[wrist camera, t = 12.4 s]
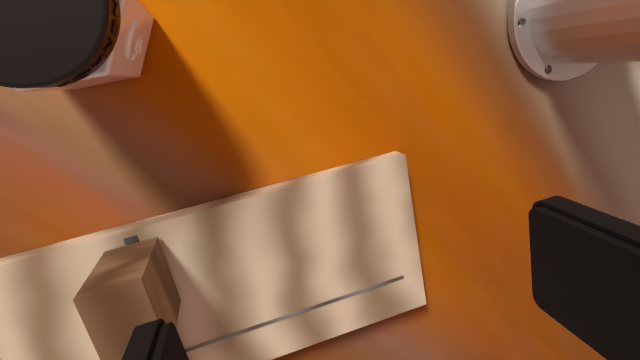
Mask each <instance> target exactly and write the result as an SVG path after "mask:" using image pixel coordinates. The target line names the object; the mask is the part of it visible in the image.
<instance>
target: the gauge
mask: <svg viewBox="0 0 640 360" xmlns="http://www.w3.org/2000/svg"><path fill="white" fill-rule="evenodd" d="M73 302H74V304H75V306H76V309H77V311H78V313H79V315H80V317H81V319H82V321H83V324H84V326H85V328H86V330H87V332H88V334H89V337H90V339H91V341H92V343H93V345H94V347H95V349H96V352H97V354H98V356H99V358H100V360H122V357H123V355H124V352H125V350H126V347H127V345H128V342H129V340H130V337H131V335H132V332H133V330H134V328H135V327H136V326H138V325H141V324H144V323H148V322H151V321H154V320H157V319H160V318H161V319H163V320H164V321H165V322H166V323H169V322H173V323H174V325H175V327H177V321H178V315H179V309H180V303H181V299H180V296H179V293H178V291H177V288H176V285H175V282H174V280H173V277H172V274H171V272H170V269H169V266H168V263H167V261H166V258H165V255H164V252H163V250H162V247H161V244H160V241H159V239H158V237H154V238H151V239H147V240H144V241H140V242H137V243H133V244H130V245H126V246H122V247H119V248H115V249H112V250H108V251H105V252H104V253H103V255H102V256H101V258H100V259H99V261H98V262H97V264H96V265H95V267H94V268H93V270H92V271H91V273H90V274H89V276H88V277H87V279H86V280H85V282H84V283H83V285H82V287H81V288H80V290H79V291H78V293H77V294H76V296H75V297H74V299H73Z"/></svg>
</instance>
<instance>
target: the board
mask: <svg viewBox="0 0 640 360" xmlns="http://www.w3.org/2000/svg"><path fill="white" fill-rule="evenodd" d="M154 237H158V239H159V241H160V244H161V247H162V250H163V252H164V255H165V258H166V261H167V263H168V266H169V269H170V272H171V274H172V277H173V280H174V282H175V285H176V288H177V291H178V293H179V296H180V299H181V303H180V309H179V315H178V321H177V327H176V329H177V331H178V334H179V336H180V339H181V341H182V344H183V346H184V349H185V351H186V354H187V356H188V359H189V360H272V359H275V358H277V357H280V356H283V355H286V354H289V353H291V352H294V351H297V350H300V349H303V348H305V347H308V346H311V345H314V344H316V343H319V342H322V341H325V340H328V339H330V338H333V337H336V336H339V335H342V334H344V333H347V332H350V331H353V330H356V329H358V328H361V327H364V326H367V325H369V324H372V323H375V322H378V321H381V320H383V319H386V318H389V317H392V316H395V315H397V314H400V313H403V312H406V311H409V310H411V309H414V308H417V307H420V306H423V305H425V304H426V298H425V291H424V283H423V276H422V269H421V262H420V255H419V248H418V241H417V234H416V226H415V219H414V212H413V205H412V198H411V191H410V184H409V176H408V169H407V162H406V155H404V154H402V153H399V152H397V151H394V152H391V153H387V154H383V155H379V156H376V157H372V158H368V159H365V160H361V161H357V162H354V163H350V164H346V165H343V166H339V167H335V168H332V169H328V170H324V171H320V172H317V173H313V174H309V175H306V176H302V177H298V178H295V179H291V180H287V181H284V182H280V183H276V184H273V185H269V186H265V187H261V188H258V189H254V190H250V191H247V192H243V193H239V194H236V195H232V196H228V197H225V198H221V199H217V200H214V201H210V202H206V203H202V204H199V205H195V206H191V207H188V208H184V209H180V210H177V211H173V212H169V213H166V214H162V215H158V216H155V217H151V218H147V219H143V220H140V221H136V222H132V223H129V224H125V225H121V226H118V227H114V228H110V229H107V230H103V231H99V232H96V233H92V234H88V235H84V236H81V237H77V238H73V239H70V240H66V241H62V242H59V243H55V244H51V245H48V246H44V247H40V248H37V249H33V250H29V251H25V252H22V253H18V254H14V255H11V256H7V257H3V258H0V358H1V360H100V358H99V356H98V354H97V352H96V349H95V347H94V345H93V343H92V341H91V339H90V337H89V334H88V332H87V330H86V328H85V326H84V324H83V321H82V319H81V317H80V315H79V313H78V311H77V309H76V306H75V304H74V302H73V299H74V297H75V296H76V294H77V293H78V291H79V290H80V288H81V287H82V285H83V283H84V282H85V280H86V279H87V277H88V276H89V274H90V273H91V271H92V270H93V268H94V267H95V265H96V264H97V262H98V261H99V259H100V258H101V256H102V255H103V253H104V252H105V251H108V250H112V249H115V248H119V247H122V246H126V245H130V244H133V243H137V242H140V241H144V240H147V239H151V238H154Z"/></svg>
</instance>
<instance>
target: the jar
mask: <svg viewBox="0 0 640 360" xmlns="http://www.w3.org/2000/svg"><path fill="white" fill-rule="evenodd" d="M153 20H154V17H153V15H152V14H151V13H150V12H149V11H148V10H147V9H146V8H145V7H144V5H143V4H142V3H141V2H140V1H139V0H0V86H4V87H10V88H12V89H14V90H15V91H17V92H30V91H47V90H65V89H80V88H85V87H90V86H96V85H101V84H106V83H111V82H116V81H121V80H126V79H131V78H136V77H139V76H140V75H141V71H142V67H143V63H144V58H145V54H146V50H147V46H148V41H149V37H150V33H151V29H152V25H153Z"/></svg>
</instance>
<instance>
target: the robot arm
mask: <svg viewBox="0 0 640 360" xmlns="http://www.w3.org/2000/svg"><path fill="white" fill-rule="evenodd" d="M508 33H509V39H510V43H511V46H512V49H513V52H514V54H515V56H516V57H517V59H518V61H519V62H520V64H521V65H522V66H523V67H524V68H525V69H526V70H527V71H528V72H529V73H531V74H532V75H534V76H535V77H538V78H540V79H543V80H549V81H567V80H571V79H575V78H577V77H579V76H581V75H583V74H585V73H587V72H588V71H590V70H591V69H592V68H594V67H595V66H596V65H597V64H598V63H608V62H629V61H640V0H510V2H509V9H508ZM529 233H530V252H531V271H532V290H533V297H534V300H535V302H536V304H537V305H538V306H539V307H540V308H541V309H542V310H543V311H545V312H546V313H547V314H548V315H550V316H551V317H552V318H554V319H555V320H556V321H558V322H559V323H560V324H561V325H563V326H564V327H565V328H567V329H568V330H569V331H571V332H572V333H573V334H574V335H576V336H577V337H578V338H580V339H581V340H582V341H584V342H585V343H586V344H587V345H589V346H590V347H591V348H593V349H594V350H595V351H597V352H598V353H599V354H600V355H602V356H603V357H604V358H606V359H607V360H640V226H638V225H635V224H633V223H630V222H627V221H625V220H622V219H619V218H617V217H614V216H611V215H609V214H606V213H603V212H601V211H598V210H596V209H593V208H590V207H588V206H585V205H582V204H580V203H577V202H574V201H572V200H569V199H566V198H564V197H561V196H553V197H550V198H547V199H543V200H540V201H537V202H535V203H534V204H533V206H532V209H531V210H530V211H529ZM122 360H189V359H188V356H187V354H186V351H185V349H184V346H183V344H182V341H181V339H180V336H179V334H178V331H177V329H176V327H175V325H174V323H173V322H169V323H166V322H165V321H164V320H163V319H161V318H160V319H157V320H154V321H151V322H148V323H144V324H141V325H138V326H136V327H135V328H134V330H133V332H132V335H131V337H130V340H129V342H128V345H127V347H126V350H125V352H124V355H123V357H122Z"/></svg>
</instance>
